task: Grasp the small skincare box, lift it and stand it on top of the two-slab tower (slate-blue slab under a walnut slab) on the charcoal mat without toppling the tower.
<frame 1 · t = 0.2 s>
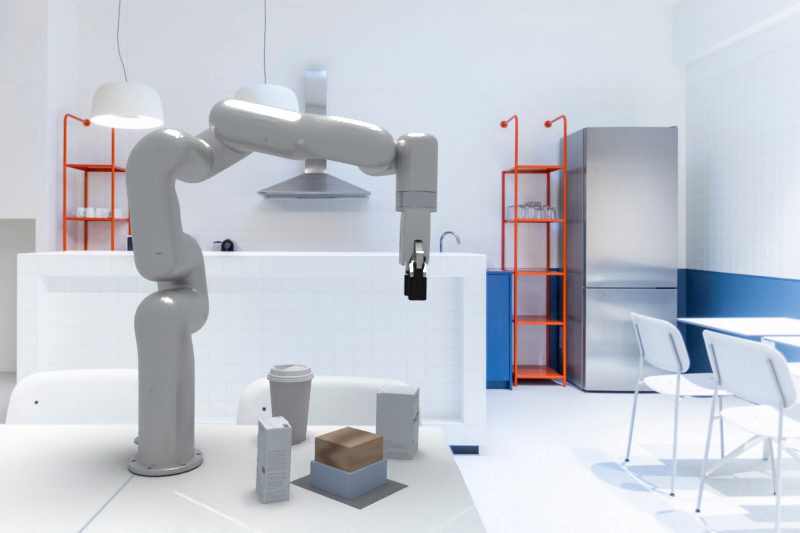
hand: (414, 298, 110), 31 cm above the table, tool pointing down, fingers open, 9 cm apart
tower top: (348, 460, 101), point 4 cm above the table, touching tower base
supplement box: (397, 454, 117), on the table
mat: (348, 486, 101), on the table
skincare box: (273, 498, 96), on the table
coffee cup: (289, 440, 125), on the table
tower base: (348, 484, 101), resting on mat, touching tower top
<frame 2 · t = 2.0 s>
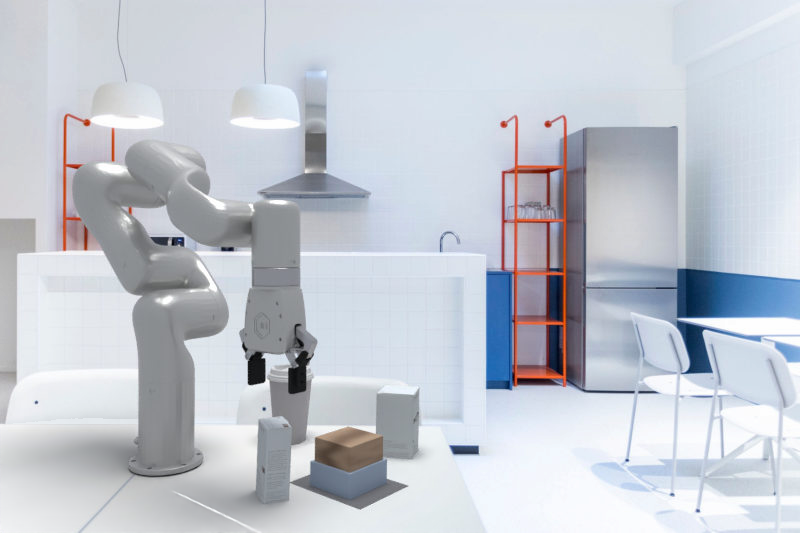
hand: (276, 388, 95), 17 cm above the table, tool pointing down, fingers open, 9 cm apart
nothing on the table moved.
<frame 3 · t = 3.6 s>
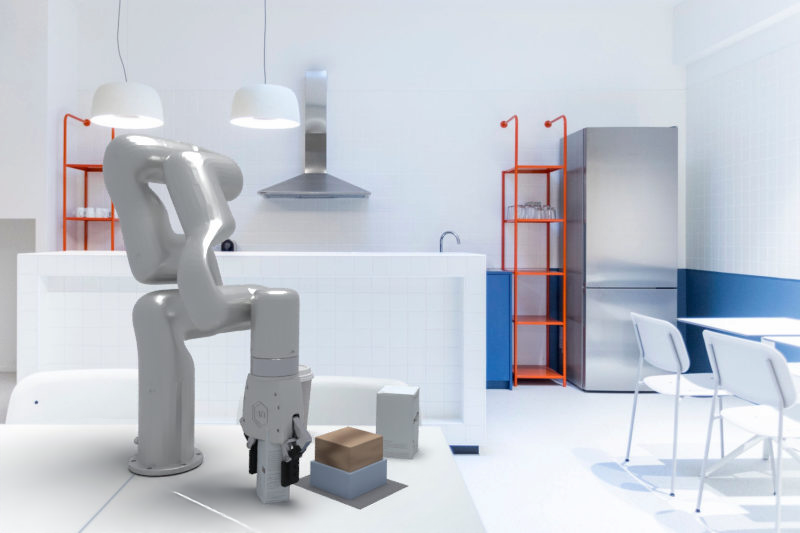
hand: (273, 477, 96), 3 cm above the table, tool pointing down, fingers closed on skincare box, 7 cm apart
skincare box: (273, 498, 96), on the table, touching gripper
everything else where it was.
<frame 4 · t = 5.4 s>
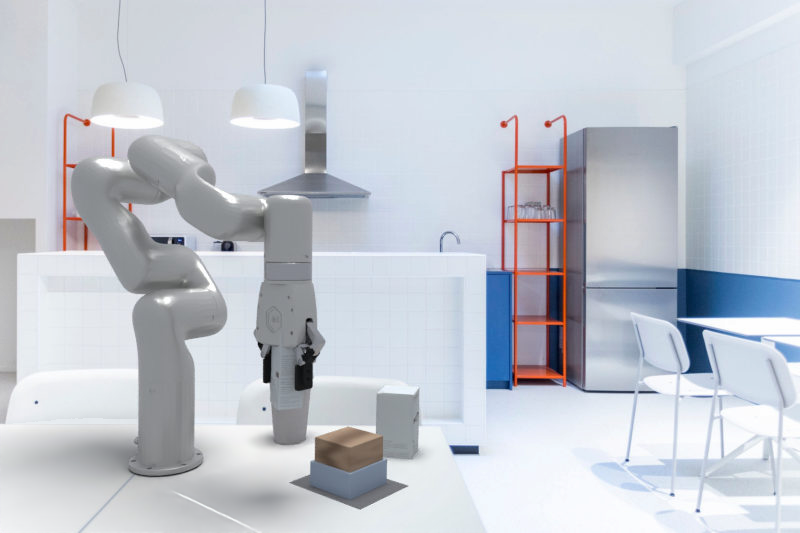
hand: (287, 384, 96), 18 cm above the table, tool pointing down, fingers closed on skincare box, 7 cm apart
skincare box: (287, 406, 96), point 14 cm above the table, touching gripper
everything else where it was.
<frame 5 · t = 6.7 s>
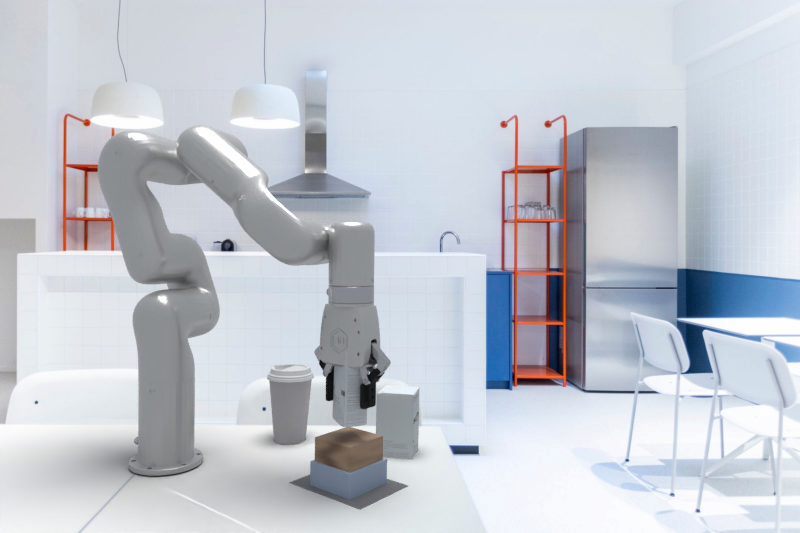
hand: (350, 402, 100), 14 cm above the table, tool pointing down, fingers closed on skincare box, 7 cm apart
skincare box: (350, 423, 100), point 11 cm above the table, touching gripper
everything else where it was.
when the fingers open (13 cm above the table, at t = 7.5 s): skincare box stays where it is, resting on tower top.
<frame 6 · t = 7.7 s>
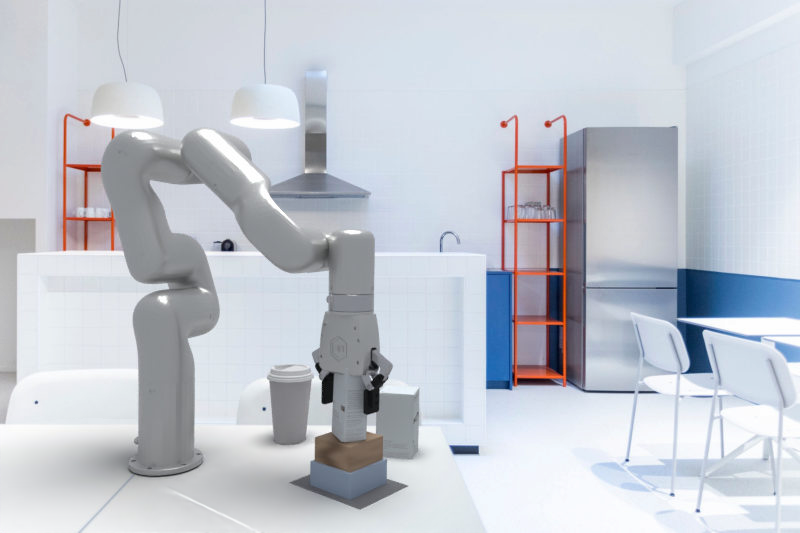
hand: (349, 407, 100), 13 cm above the table, tool pointing down, fingers open, 9 cm apart
tower top: (348, 460, 101), point 4 cm above the table, touching skincare box, tower base
skincare box: (349, 438, 100), point 8 cm above the table, touching tower top
everything else where it was.
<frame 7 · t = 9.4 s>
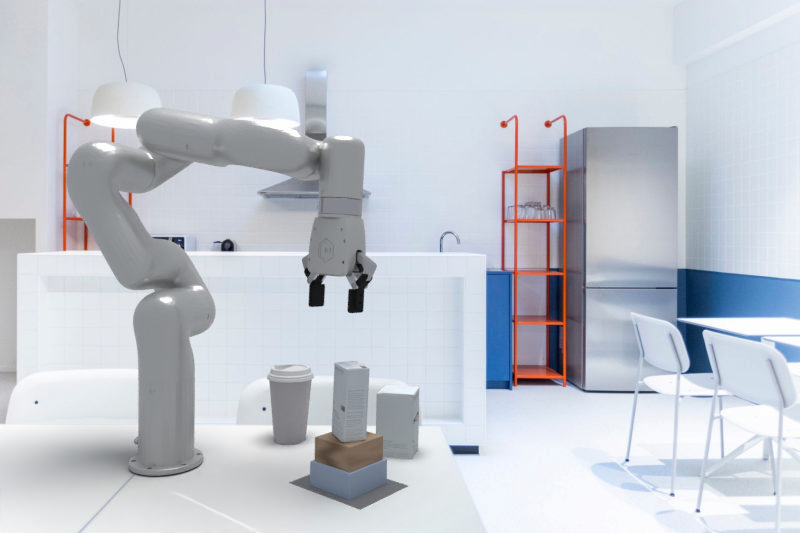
hand: (335, 309, 104), 29 cm above the table, tool pointing down, fingers open, 9 cm apart
nothing on the table moved.
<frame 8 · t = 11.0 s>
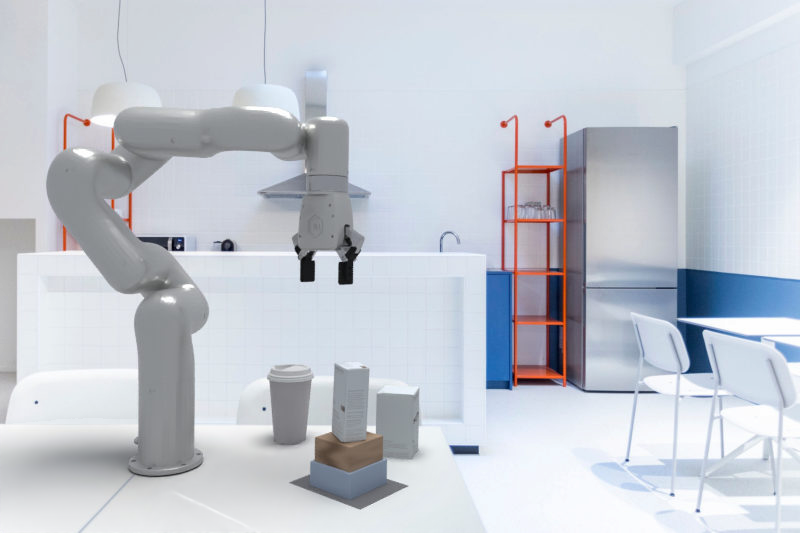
hand: (326, 283, 109), 33 cm above the table, tool pointing down, fingers open, 9 cm apart
nothing on the table moved.
at the end: skincare box inside the target area on the tower top (0.2 cm from its centre), point 3.8 cm above the tower top's base; skincare box tilted 0°; tower top moved 0.1 cm from its start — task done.
